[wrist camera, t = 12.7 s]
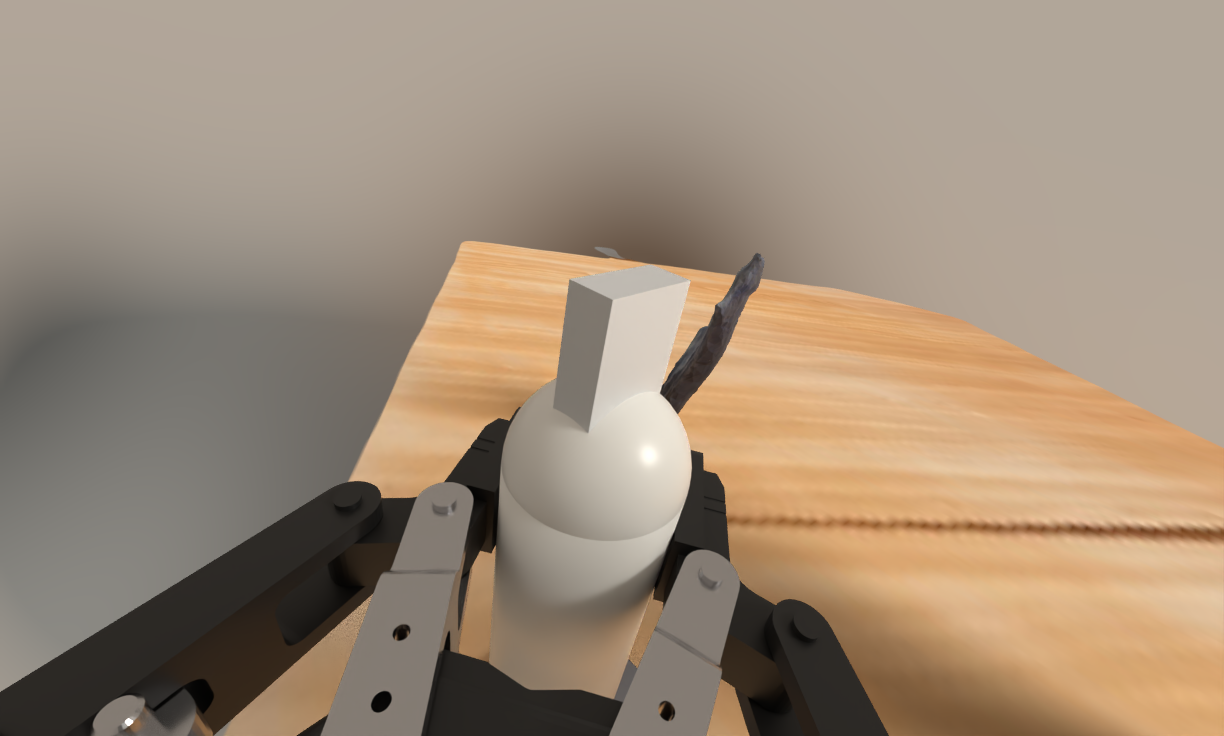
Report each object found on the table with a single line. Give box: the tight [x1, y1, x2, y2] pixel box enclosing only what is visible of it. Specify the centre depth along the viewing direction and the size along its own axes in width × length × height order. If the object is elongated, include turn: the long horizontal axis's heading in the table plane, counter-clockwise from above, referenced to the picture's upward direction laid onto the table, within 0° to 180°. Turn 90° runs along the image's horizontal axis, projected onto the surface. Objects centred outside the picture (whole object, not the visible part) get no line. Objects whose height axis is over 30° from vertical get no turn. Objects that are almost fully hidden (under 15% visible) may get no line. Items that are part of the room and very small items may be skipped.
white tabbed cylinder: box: [489, 265, 692, 699], centre depth 11 cm, size 4×4×14 cm
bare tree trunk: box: [660, 253, 764, 415], centre depth 39 cm, size 12×8×25 cm
